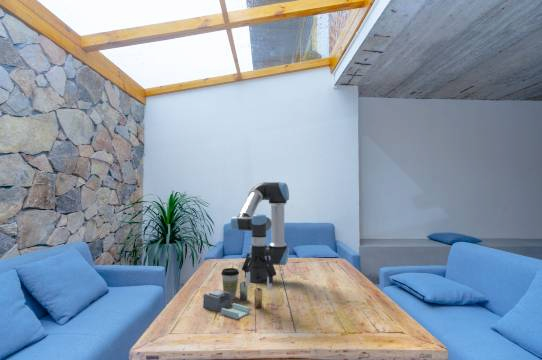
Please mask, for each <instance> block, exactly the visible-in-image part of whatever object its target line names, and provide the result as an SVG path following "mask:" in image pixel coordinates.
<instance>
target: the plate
mask: <svg viewBox="0 0 542 360" xmlns="http://www.w3.org/2000/svg"><path fill="white" fill-rule="evenodd" d="M220 290H221V289H218V290H216V289H215V290H213V291H211V292H209V293H208V294H209V295H213V296H216V297H222V296H225V295H226V292H224V291H223V290H222V291H220Z"/></svg>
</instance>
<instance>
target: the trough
mask: <svg viewBox="0 0 542 360" xmlns="http://www.w3.org/2000/svg"><path fill="white" fill-rule="evenodd" d="M250 309H251V308H250V307H249V306H246V305H243V304H242V305H241V304H238V303H236V302H235V303H232V308H230V309H228V308H222V309H221V310H220V311H221V313H220V315H222V316H225V317H227V318H231V319H234V320H239V319H241V318H244V317H245V316H247V315H249V314H250Z"/></svg>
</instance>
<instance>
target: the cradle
mask: <svg viewBox="0 0 542 360" xmlns="http://www.w3.org/2000/svg"><path fill="white" fill-rule="evenodd" d="M216 290H220V291H223V289H222V290H221V289H218V288H216V289H215V291H216ZM224 292H226V291H224ZM202 302H203V303H202V304H203V306H202V307H203V308H205V309H207V310H211V311H215V312H217V313H218V312H220V311H221V309H222V308H225V309H228V308H229V307H231V306H232V299H231V293H230V292H226V295H225V296H222V297H216V296H213V295H209V293H203V301H202Z"/></svg>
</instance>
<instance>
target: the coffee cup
mask: <svg viewBox="0 0 542 360" xmlns="http://www.w3.org/2000/svg"><path fill="white" fill-rule="evenodd" d="M239 274H240V271H239V269H238V268H234V267H228V268H227V267H226V268H223V269H222V271H221V275H222V276H221V277H222V280H221V281H222V288H223V289H222V291H226V292H230V293H231V300H233V299H236V296H237V290H238V283H239V282H238V281H239Z"/></svg>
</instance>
